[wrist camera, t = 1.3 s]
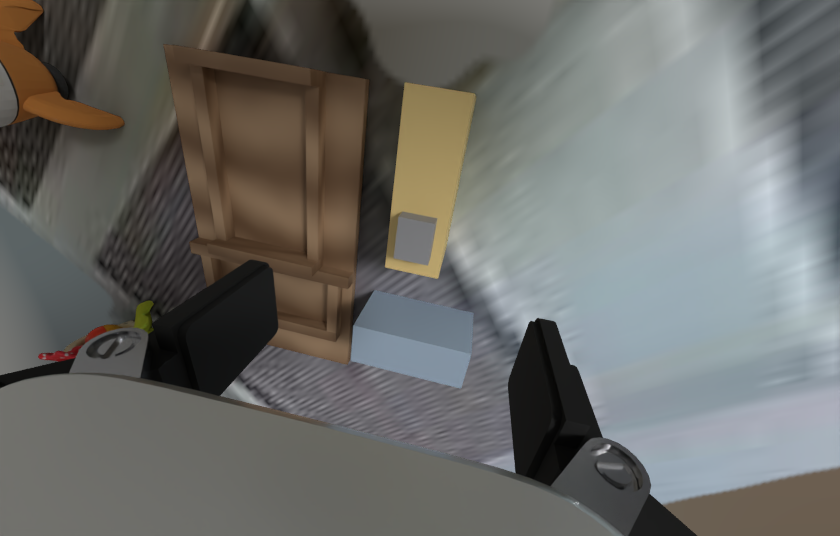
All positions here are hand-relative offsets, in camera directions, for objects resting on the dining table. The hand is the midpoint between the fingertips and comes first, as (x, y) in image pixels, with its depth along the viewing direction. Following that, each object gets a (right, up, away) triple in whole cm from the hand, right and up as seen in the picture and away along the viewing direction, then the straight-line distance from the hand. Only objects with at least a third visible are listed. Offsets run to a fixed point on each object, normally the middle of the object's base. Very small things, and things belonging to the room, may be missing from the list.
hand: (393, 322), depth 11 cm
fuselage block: (+2, +9, +15) cm, 18 cm away
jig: (-13, +5, +19) cm, 24 cm away
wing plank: (+1, -3, +21) cm, 21 cm away
